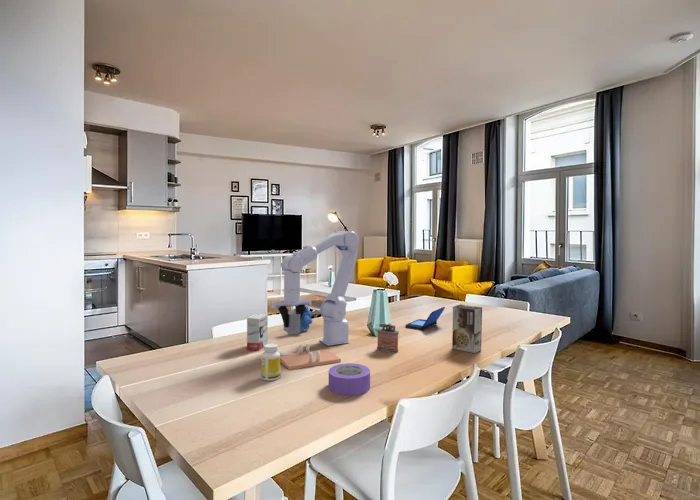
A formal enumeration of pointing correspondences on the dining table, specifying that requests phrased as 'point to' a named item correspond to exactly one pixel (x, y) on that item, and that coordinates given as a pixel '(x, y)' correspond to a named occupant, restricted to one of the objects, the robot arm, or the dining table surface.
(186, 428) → the dining table surface
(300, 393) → the dining table surface
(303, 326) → the grapes
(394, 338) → the lighter
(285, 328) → the grey rectangular block
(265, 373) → the supplement bottle
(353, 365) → the tape roll
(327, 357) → the pin tray
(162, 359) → the dining table surface
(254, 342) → the ink box
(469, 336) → the coffee box
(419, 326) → the handheld game console
